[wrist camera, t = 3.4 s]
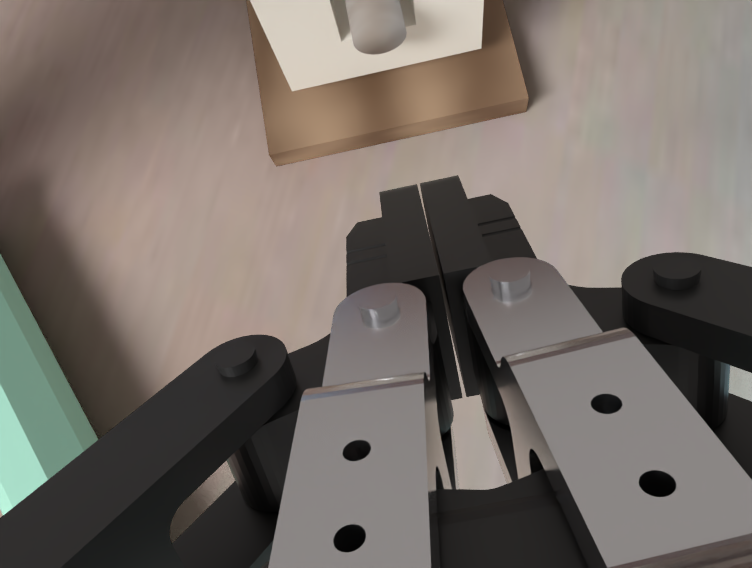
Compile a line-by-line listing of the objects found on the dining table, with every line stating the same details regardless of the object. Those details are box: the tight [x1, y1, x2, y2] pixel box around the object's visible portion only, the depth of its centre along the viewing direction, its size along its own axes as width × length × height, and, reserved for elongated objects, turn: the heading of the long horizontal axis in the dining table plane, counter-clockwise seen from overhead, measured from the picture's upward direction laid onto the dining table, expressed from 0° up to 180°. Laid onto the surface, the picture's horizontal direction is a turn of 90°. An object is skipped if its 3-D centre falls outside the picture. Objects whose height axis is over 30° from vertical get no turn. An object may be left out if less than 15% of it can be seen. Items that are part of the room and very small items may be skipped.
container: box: [0, 254, 98, 515], centre depth 33 cm, size 6×6×25 cm
